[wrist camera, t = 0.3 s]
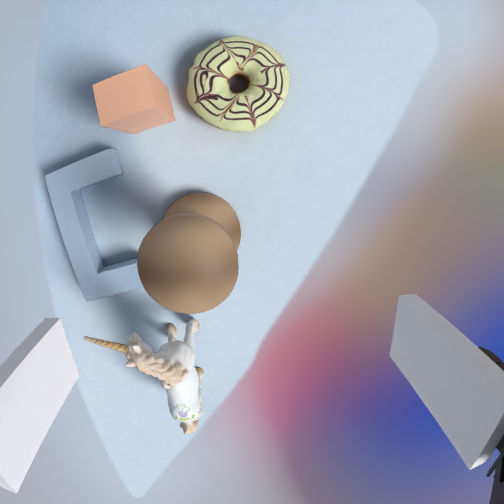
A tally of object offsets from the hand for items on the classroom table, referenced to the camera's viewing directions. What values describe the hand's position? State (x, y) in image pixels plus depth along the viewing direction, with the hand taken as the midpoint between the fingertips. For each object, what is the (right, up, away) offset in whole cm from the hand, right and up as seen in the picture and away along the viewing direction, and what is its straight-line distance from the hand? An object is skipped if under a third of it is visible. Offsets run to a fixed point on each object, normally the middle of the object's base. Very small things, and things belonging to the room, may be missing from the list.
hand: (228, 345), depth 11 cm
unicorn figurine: (-11, -9, +29) cm, 32 cm away
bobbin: (-5, +6, +25) cm, 26 cm away
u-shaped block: (-17, +7, +24) cm, 30 cm away
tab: (-10, +19, +21) cm, 30 cm away
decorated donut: (-1, +22, +21) cm, 30 cm away
